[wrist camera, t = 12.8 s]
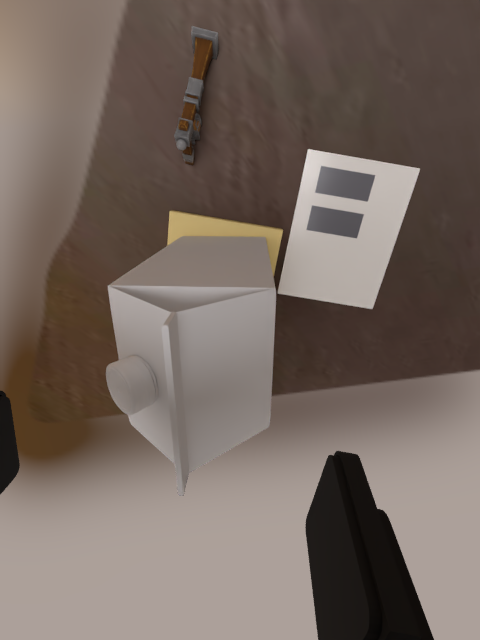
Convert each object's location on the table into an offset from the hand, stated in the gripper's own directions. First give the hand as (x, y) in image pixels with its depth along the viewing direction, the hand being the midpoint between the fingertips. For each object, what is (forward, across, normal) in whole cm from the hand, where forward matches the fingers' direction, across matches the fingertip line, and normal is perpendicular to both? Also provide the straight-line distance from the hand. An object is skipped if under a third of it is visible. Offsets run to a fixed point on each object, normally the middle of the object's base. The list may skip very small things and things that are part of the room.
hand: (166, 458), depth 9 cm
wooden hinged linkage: (+22, +4, -13) cm, 26 cm away
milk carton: (+21, +1, 0) cm, 21 cm away
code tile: (+22, -9, -5) cm, 24 cm away
